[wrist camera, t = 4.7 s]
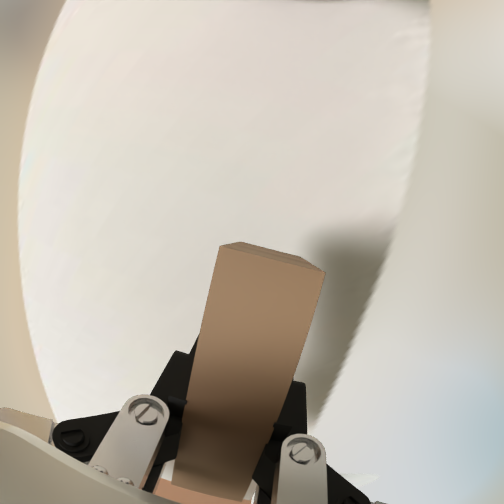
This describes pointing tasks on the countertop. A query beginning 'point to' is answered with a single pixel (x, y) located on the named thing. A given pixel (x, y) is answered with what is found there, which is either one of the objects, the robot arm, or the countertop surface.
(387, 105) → the countertop surface
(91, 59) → the countertop surface
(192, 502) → the tile
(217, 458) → the tan tapered bar
